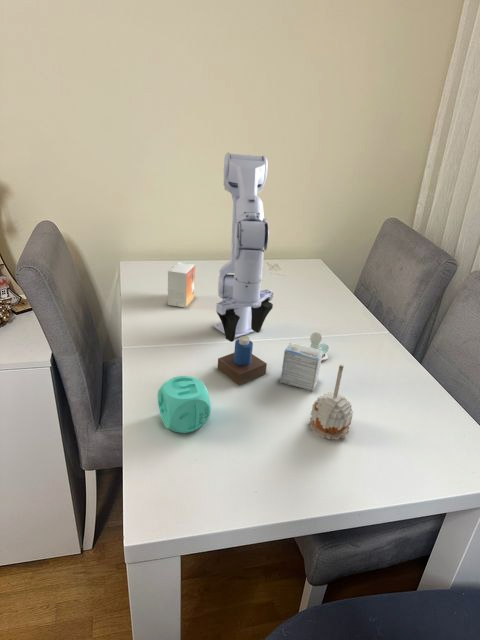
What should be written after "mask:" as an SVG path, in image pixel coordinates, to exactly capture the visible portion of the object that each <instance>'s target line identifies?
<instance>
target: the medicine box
mask: <svg viewBox="0 0 480 640" xmlns="http://www.w3.org/2000/svg"><path fill="white" fill-rule="evenodd" d="M310 347H311V346H306V345H302V344H297V343H293V342H290V343H289V344H288V346H287V347H286V348H285V350H284V351H283V359H282V360H283V362H282V367H281V374H280V383H281V384H285V385H289V386H292V387H296V388H301V389H304V390H307V391H311V392H314V391H315V389H316V386H317V384H318V382H319V376H320V371H321V365H322V361H321V360H322V358H323V355H322V354H323V351H322V350H318V349H314V348H310Z"/></svg>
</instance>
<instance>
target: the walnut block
mask: <svg viewBox="0 0 480 640" xmlns="http://www.w3.org/2000/svg"><path fill="white" fill-rule="evenodd" d="M267 365H268V364H267V362H265V361H264V360H262V359H260V358H259V357H257V356H256V355H254V354H253V353H252V358H251V363H250V364H249V365H245V366H242V365H238V364H236V363H235V362H234V352H232V353H229V354H226V355H224V356H221V357H218V358H217V368H216V369H217V370H218V371H219V372H220V373H222V374H223V375H224V376H226V377H227V378H228V379H229V380H231V381H233V382H234V383H235V384H237V385H238V386H242V385H244V384H246V383H249V382H251V381H253V380H255V379H258V378H260V377H262V376H265V375H267V374H266V373H267Z"/></svg>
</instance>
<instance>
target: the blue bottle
mask: <svg viewBox="0 0 480 640" xmlns="http://www.w3.org/2000/svg"><path fill="white" fill-rule="evenodd" d="M253 348H254V343H253V341H251V339H250V337H249V336H247V335H243V336H240V337H239V338H238V339H236V340H235V341H234V351H233V353H234V362H235V363H236V364H238V365H242V366H245V365H249V364H250V363H251V358H252V354H253Z"/></svg>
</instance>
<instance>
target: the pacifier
mask: <svg viewBox="0 0 480 640" xmlns="http://www.w3.org/2000/svg"><path fill="white" fill-rule="evenodd" d="M309 340H310V346H309V347H310V348H314V349H318V350H322V351H323V354H322V360H321V362H324V361H326V360H328V359H329V354H327V353H328V351H329V345H328V344H326V343H321V342H322V340H323V337H322V334H321V333H320V332H318V331H314V332H312V334H311V335H310V337H309Z"/></svg>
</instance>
